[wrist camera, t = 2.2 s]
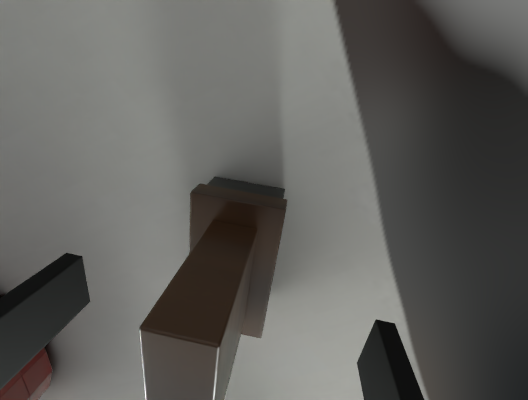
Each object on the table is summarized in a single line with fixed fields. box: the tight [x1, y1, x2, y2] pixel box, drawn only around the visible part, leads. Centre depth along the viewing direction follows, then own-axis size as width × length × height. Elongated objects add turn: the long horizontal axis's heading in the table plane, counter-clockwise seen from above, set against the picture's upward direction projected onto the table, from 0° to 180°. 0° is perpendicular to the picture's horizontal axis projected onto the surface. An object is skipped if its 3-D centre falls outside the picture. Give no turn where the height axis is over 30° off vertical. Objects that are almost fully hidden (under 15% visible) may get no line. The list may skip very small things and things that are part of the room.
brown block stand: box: [139, 177, 287, 400], centre depth 12 cm, size 8×4×9 cm, turn 172°
